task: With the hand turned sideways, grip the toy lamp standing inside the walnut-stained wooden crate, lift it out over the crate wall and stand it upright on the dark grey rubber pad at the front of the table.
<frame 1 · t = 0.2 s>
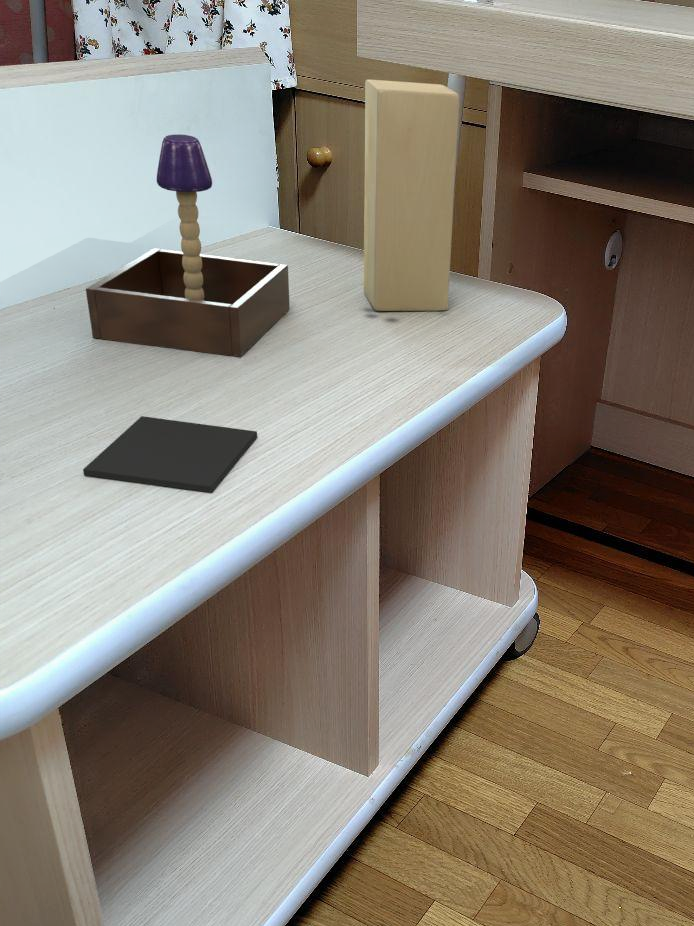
tall wooden block: (405, 301, 105), on the table
crate: (197, 322, 94), on the table
toy lamp: (197, 324, 94), resting in crate
pad: (175, 455, 71), on the table
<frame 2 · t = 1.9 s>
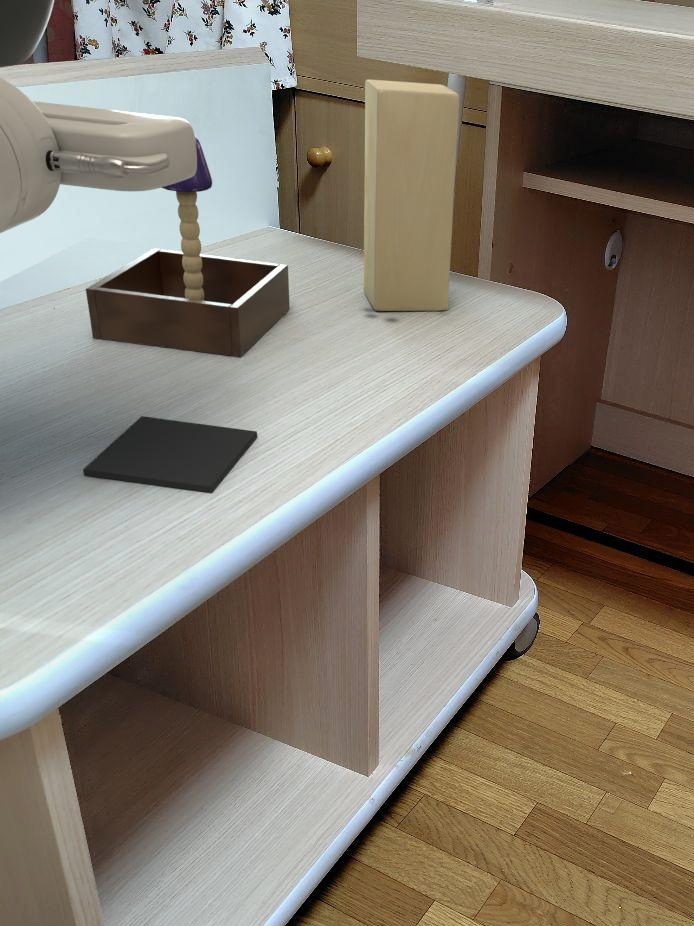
hand: (89, 120, 71), 20 cm above the table, tool horizontal, fingers open, 8 cm apart
nothing on the table moved.
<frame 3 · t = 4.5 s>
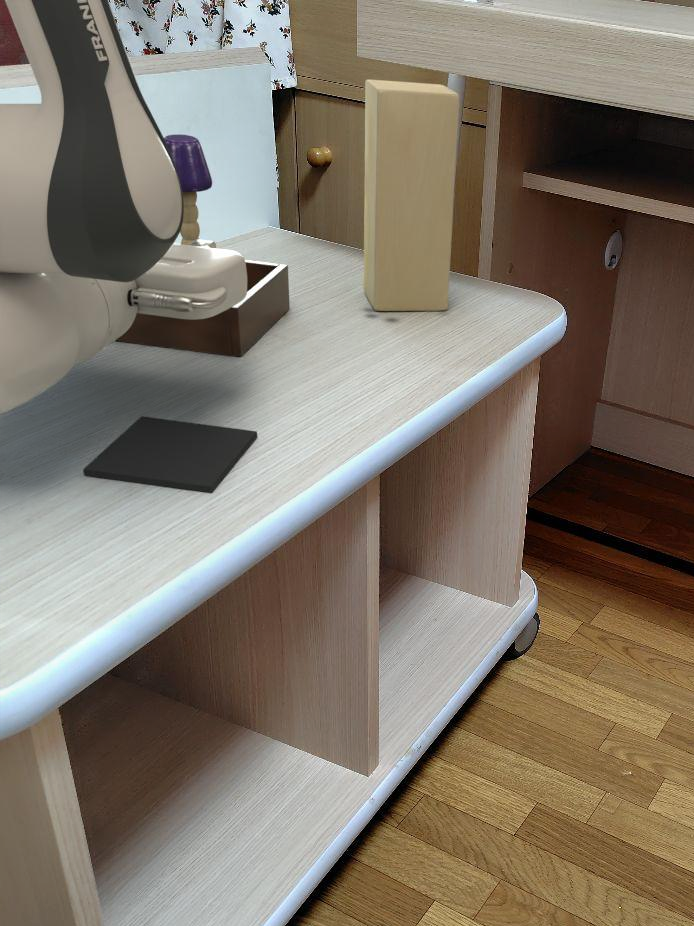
hand: (153, 242, 83), 9 cm above the table, tool horizontal, fingers open, 8 cm apart
nothing on the table moved.
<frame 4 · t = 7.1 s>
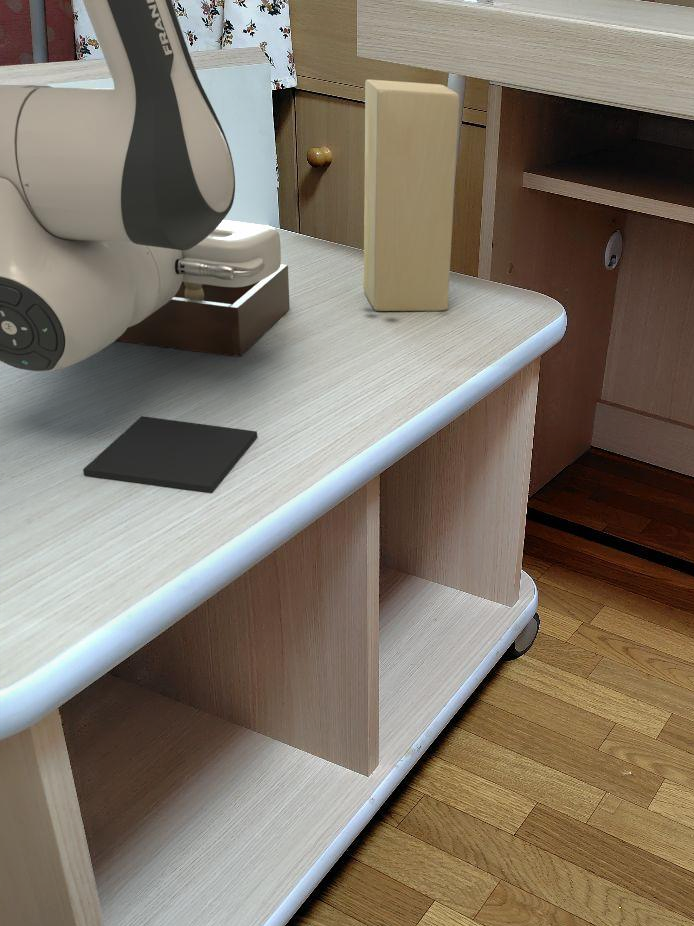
hand: (192, 219, 90), 9 cm above the table, tool horizontal, fingers closed on toy lamp
toy lamp: (197, 324, 94), resting in crate, touching gripper
everything else where it was.
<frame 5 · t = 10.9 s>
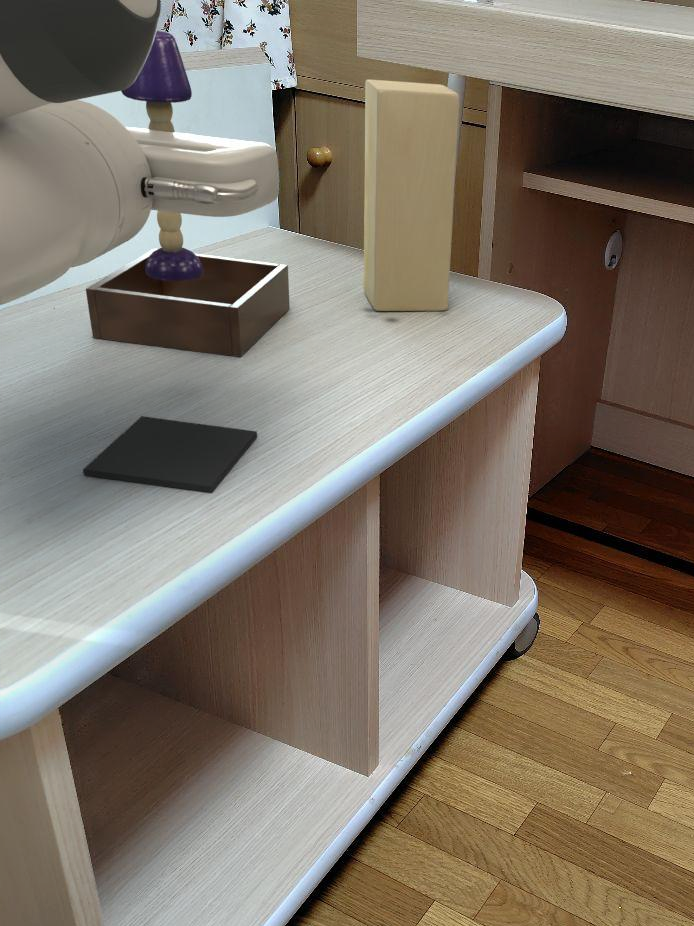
hand: (167, 143, 72), 19 cm above the table, tool horizontal, fingers closed on toy lamp
toy lamp: (174, 277, 76), point 9 cm above the table, touching gripper
everything else where it was.
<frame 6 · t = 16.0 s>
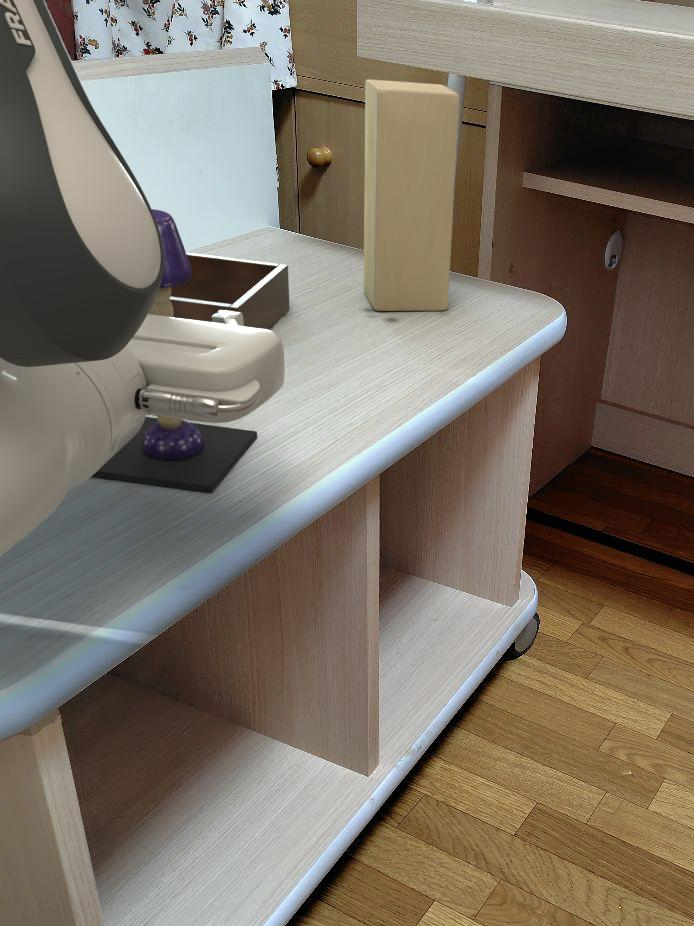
hand: (165, 313, 67), 10 cm above the table, tool horizontal, fingers open, 8 cm apart
toy lamp: (173, 452, 71), resting on pad
everything else where it was.
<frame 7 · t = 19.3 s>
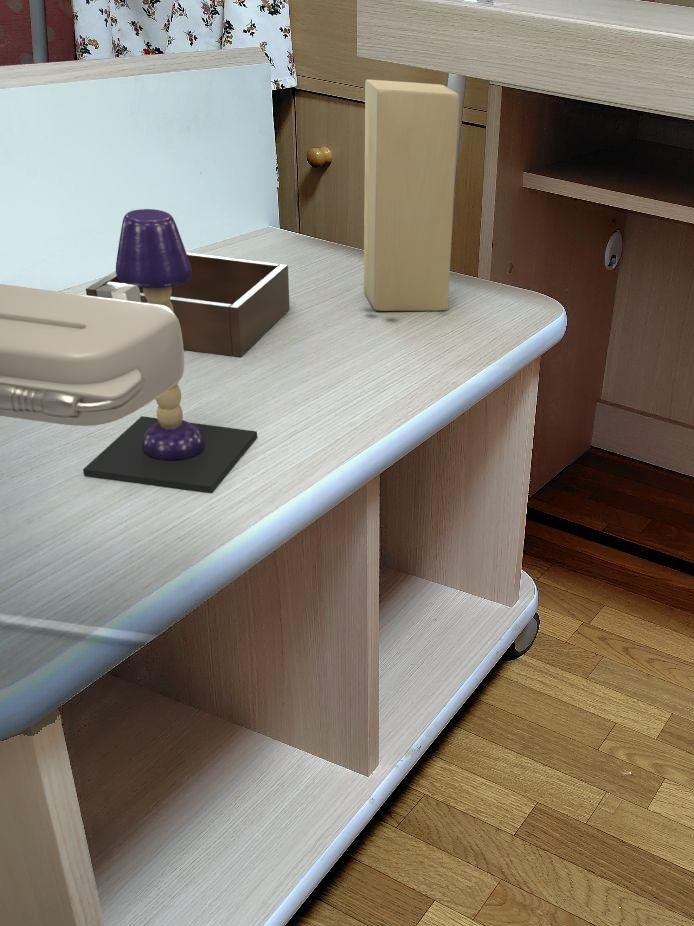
hand: (42, 286, 53), 16 cm above the table, tool horizontal, fingers open, 8 cm apart
nothing on the table moved.
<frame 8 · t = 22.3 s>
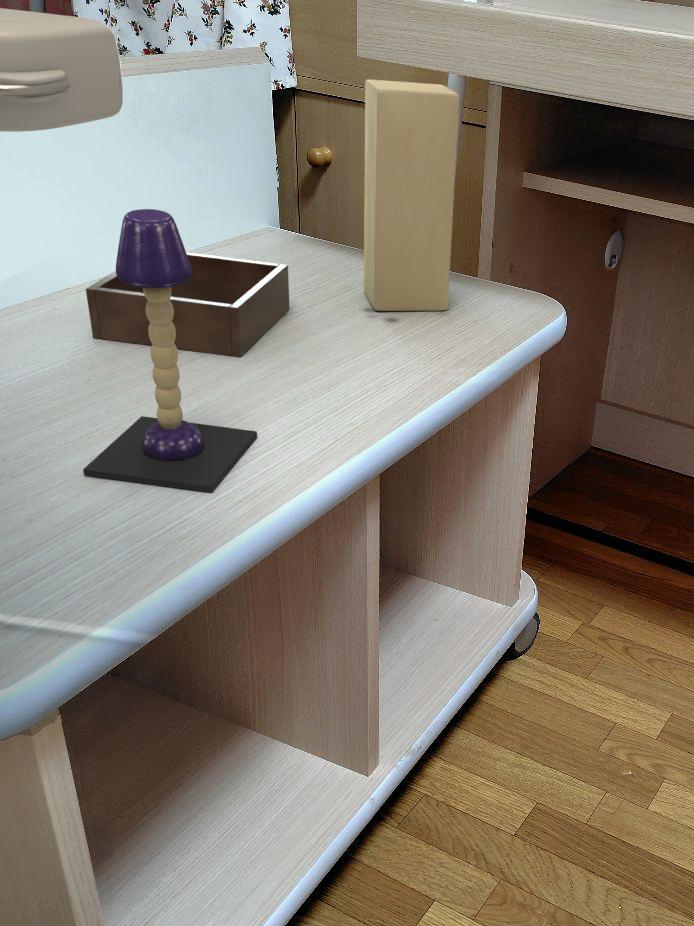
nothing on the table moved.
at the end: toy lamp inside the target area on the pad (0.1 cm from its centre), point 0.3 cm above the pad's base; toy lamp tilted 0°; toy lamp touching pad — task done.
